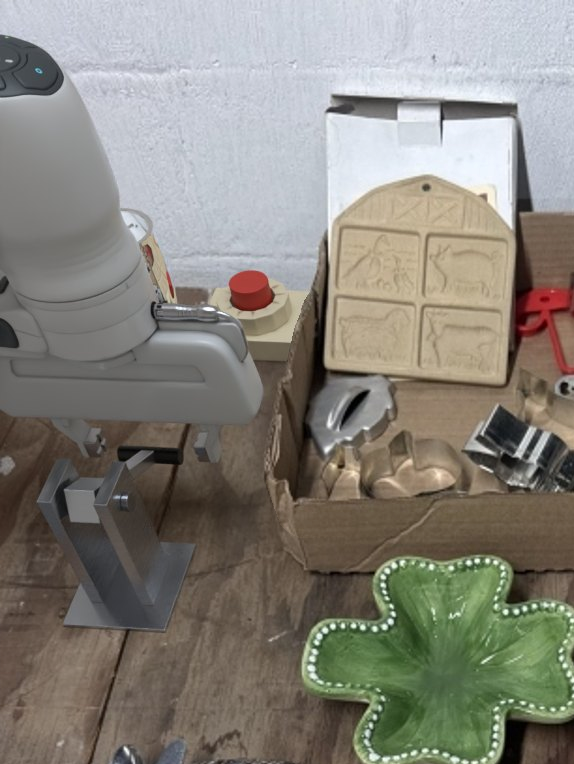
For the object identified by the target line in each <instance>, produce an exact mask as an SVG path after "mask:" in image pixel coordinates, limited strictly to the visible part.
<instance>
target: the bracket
mask: <svg viewBox="0 0 574 764" xmlns="http://www.w3.org/2000/svg"><path fill="white" fill-rule="evenodd" d="M104 477H105V478H104ZM104 477H103V478H104V481H103V483H102V485H101V487H100V489H99V492H98V494H97V496H96V498H95V501H94V503H93V506H94V508H95V510H96V512H97V514H98V516H99V518H100V521H101V523H82V522H70V518H69V513H68V508H67V503H66V499H65V494H64V489H65V488H67V487H68V486H69V485H71V484H72V483H74V482H75V481H77V480H78V479H80V478H81V476H80V475H79V473H78V471H77V469H76V467H75V465H74V463H73V461H72V459H71V458H57V459H56V461H55V463H54V465H53V466H52V469H51V471H50V473H49V475H48V476H47V479H46V481H45V483H44V485H43V487H42V490H41V492H40V494H39V495H38V498H37V500H36V504H37V505H38V507H39V509H40V511H41V513H42V515H43V517H44V518H45V521H46V522H47V524H48V526H49V528H50V530H51V532H52V533H53V535H54V536H55V539H56V540H57V542H58V544H59V546H60V548H61V550H62V551H63V553H64V555H65V557H66V559H67V561H68V563H69V564H70V566H71V568H72V570H73V572H74V574H75V576H76V577H77V580H78V581H79V585H78V587H77V589H76V592H75V593H74V597H72V598H73V599H72V601H71V603H70V605H69V608H68V610H67V611H66V615H65V617H64V619H63V621H62V626H63V627H64V628H76V629H77V628H78V629H94V630H113V631H129V632H131V631H132V632H145V633H149V632H150V633H167V630H168V628H169V625H170V622H171V619H172V616H173V615H174V611H175V608H176V605H177V603H178V600H179V597H180V594H181V593H182V590H183V586H184V583H185V580H186V578H187V575H188V572H189V570H190V567H191V564H192V560H193V558H194V555H195V552H196V550H197V544H196V543H189V542H172V541H171V542H168V541H160V539H159V537H158V534H157V532H156V530H155V527H154V524H153V523H152V520H151V518H150V515H149V513H148V511H147V508H146V506H145V504H144V501H143V499H142V497H141V495H140V492H139V490H138V487H137V485H136V484H135V481H134V480H133V478H132V476H131V474H130V471H129V469H128V467H127V464H126V462H120V461H119V460H118V461H114V460H112V461H111V463H110V464H109V467H108V468H107V471H106V473H105V476H104Z"/></svg>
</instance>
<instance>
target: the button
mask: <svg viewBox="0 0 574 764" xmlns="http://www.w3.org/2000/svg"><path fill="white" fill-rule="evenodd" d="M268 278H269V277H268V276H267V275H266V274H265V273H264V272H262V271H259V270H252V269H250V270H249V269H248V270H243V271H239V272H238V273H236V274H234V275H233V276H231V277H230V278H229V281H228V285H229V288H230V292H231V295H232V299H233V302H234V306H235V307H236V308H237V309H239V310H241V311H256V310H260V309H263V308H266V307H267V306H268V305H270V304H271V303H272V294H271V290H270V286H269V282H268Z"/></svg>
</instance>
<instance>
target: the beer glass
mask: <svg viewBox="0 0 574 764" xmlns="http://www.w3.org/2000/svg"><path fill="white" fill-rule="evenodd" d="M120 210H121V214H122V217H123V219H124V221H125V223H126V225H127V226H128V228H129V229H130V230H131V232H132V233H133V235H134V236H135V238H136V240H137V242H138V244H139V247H140V250H141V252H142V255H143V258H144V261H145V264H146V267H147V269H148V272H149V275H150V278H151V281H152V283H153V286H154V289H155V292H156V295H157V298H158V300H159V303H177V304H179V303H178V295H177V291H176V287H175V286H176V285H175V280H174V277H173V273H172V270H171V267H170V264H169V260H168V258H167V255H166V252H165V251H164V247H163V246H162V243H161V240H160V239H159V235H158V234H157V231H156V229H155V226H154V223H153V220H152V219H151V218H150V216H149V215H148V214H146V213H145V212H143V211H140V210H138V209H134V208H129V207H128V208H126V207H120Z"/></svg>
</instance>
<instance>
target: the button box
mask: <svg viewBox="0 0 574 764" xmlns="http://www.w3.org/2000/svg"><path fill="white" fill-rule="evenodd" d="M267 278H268V282H269V286H270V290H271V294H272V303H271V304H270V305H268V306H267V307H266V308H263V309H260V310H256V311H241V310H239V309H237V308H236V307H235V306H234V302H233V299H232V295H231V292H230V288H229V284H228V285H227V286H225V287H215V288H214V291H213V294H212V296H211V299H210V301H209V303H208V304H209V305H214V306H217V307H218V309H219V311H222V312H225V313H227V314H229V315H231V316H233V317H234V318H236V319H238V320H239V321H240V322H241V324H242V326H243V328H244V332H245V335H246V339H247V342H248V349H249V350H248V351H249V353H250V355H251V357H252V359H253V361H270V362H288V361H287V358H288V354H289V349H290V345H291V341H292V336H293V332H294V328H295V325H296V323H297V320H298V318H299V315H300V313H301V308H302V305H303V303H304V300H305V299H306V297H307V295H308V294H309V292H310V290H289V289H288V290H287V288H286V286H285V285H284V284H283V282H280V281H278V280H276V279H273V278H271V277H267ZM220 318H221V317H220Z"/></svg>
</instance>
